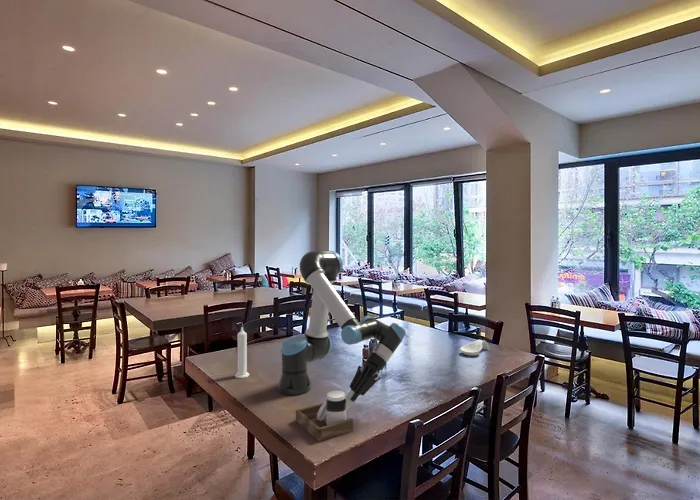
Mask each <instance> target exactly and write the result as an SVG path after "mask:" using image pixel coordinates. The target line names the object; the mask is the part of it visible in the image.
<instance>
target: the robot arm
mask: <svg viewBox="0 0 700 500" xmlns="http://www.w3.org/2000/svg"><path fill="white" fill-rule="evenodd" d="M343 268H344V263H343V259H342V257H341V256H340V254H339V253H338V252H336V251H333V250H311V251H308V252H306V253H305V254H303V256H302V257H301V260H300V261H299V272H300V275H301V277H302V279H303V281H304V282H305V283H306V284H307V285H310V286H311V288H312V289H313V292H312V300H311V307H310V308H311V309H310V317H309V325H308V328H307V329H306V330H305V331H304V336H302V335H296V336H290V337H288V338H285V339H284V340H283V341H282V343H281V374H280V377H279V381H278V382H277V383H278V384H277V391H278V392H279V393H280V394H283V395H288V396H296V395H303V394H306V393H308V392H309V391H310V390H311V389H312V386H311V380H310V379H311V378H310V376H309V374H308V364H309V363H311V362H315V361H317V360H322V359H324V358H325V357H328V355H329V354H330V353H331V351H332V350H333V349H332V347H333V341H332V340H331V339H332V337H330V333H329V332H328V331H327V329H328V328H327V327H328V326H327V325H328V319H329V314H330V315H331V316H332V317H333V319H334V320H335V322H336V323H337V324H338V327H339V328H340V329H341V331H340V336H341V340H342V341H343V343H345V344H346V345H348V346H350V345H355V344H358V343H361V342H364V341H367V340H370V339H375V340H376V341H378V342H377V344H376V345H375V346H374V348H373V349H372V352H370V354H369V355H368V356H367V359H366V360H367V361H366V363H365V364H364V365H362V366H361V365H358V366H357V370H356V373H355V374H354V376H353V379H351V380H352V381H351V382H350V385H349V388H350V391H349V392H348V394H347V395H346V397H345V400H346V410H349V409H350V407H352V405H353V403H355V402H356V400H357V399H358V397H359V396H364V395H366V393H367V392H368V391H369V390H370V389H371V388H372V387H373V386H374V385H375V384H376V383H377V382H379V381H380V380H381V376H379V375H380V374H379V373H380V371H383V370H384V368H385V367H386V365H387V362H389V360H390V359H391V357H393V355H394V353H395V352H396V350H397V349H398V347H399V346H400V344H402V342H403V340H404V338H405V336H406V335H407V333H406V332H407V331H406V329H405V328H404V327H403V326H401V325H400V324H399V323H396V322H392V323H391V324H390V325H387V324H386V323H384V322H382V321H381V320H379V319H377V318H375V317H372V316H370V315H365V316H364V317H362V318H361V320H360V321H359V319H357V317H356V316H355V314H354V313H353V312H352V310H351V309H350V307H348V305H347V304H346V302H345V301H344V300H343V298H342V297H341V296H340V294H339V292H338V291H337V290H336V289H335V287H334V286H333V283H335V282H336V281H337V277H338V276H337V275H339V274H340V273H341V272H342V270H343Z"/></svg>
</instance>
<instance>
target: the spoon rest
mask: <svg viewBox="0 0 700 500" xmlns="http://www.w3.org/2000/svg"><path fill="white" fill-rule="evenodd" d="M482 349H483V350H486V351H489V350H490V346H489V344H488V342H487V341H486V340H482V339H477V340H474V341H472V342H470V343H467V344H465V345H462V346H461V347H459V350H460V351H461V353H462V354H464V355H466V356H469V357H475V356H477V355H479V353H480V352H481V350H482Z"/></svg>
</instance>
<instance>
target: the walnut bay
mask: <svg viewBox="0 0 700 500" xmlns="http://www.w3.org/2000/svg"><path fill="white" fill-rule="evenodd" d="M323 403H324V402H321V403H319V404H314V405H311V406H307V407H304V408H299V409H296V410H295V422H297V423H298V424H299V425H300V426H301V427H302V428H303V429H305V430H306V431H307V432H308V433H309V434H310V435H311V436H312V437H313V438H314V439H316V440H317V441H318V442H321V441H323V440H328V439H330V438H333V437H334V438H335V437H337V436H341V435H343V434H347V433H350V432H353V431H354V419H353V418H348V419H346V420H344V421H341V422H338V423H334V424H331V425H327V424H326V425H325V426H322V427H320V426H319V424H316V423H315V422H314V421H313V420H312V418H317V414H318V411H319V409H320V407H321V406H322V404H323Z"/></svg>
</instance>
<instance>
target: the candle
mask: <svg viewBox="0 0 700 500" xmlns="http://www.w3.org/2000/svg"><path fill="white" fill-rule="evenodd" d="M236 335H237V373H235V374H234V377H235V378H237V379H245V378H248V377H250V372H248V367H247V366H248V359H247V358H248V356H247V355H248V344H247V343H248V341H247V339H248V335H247V332H246V331H245V330H244V328H243V326H241V328H240V331H239V332H238V333H237V334H236Z"/></svg>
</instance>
